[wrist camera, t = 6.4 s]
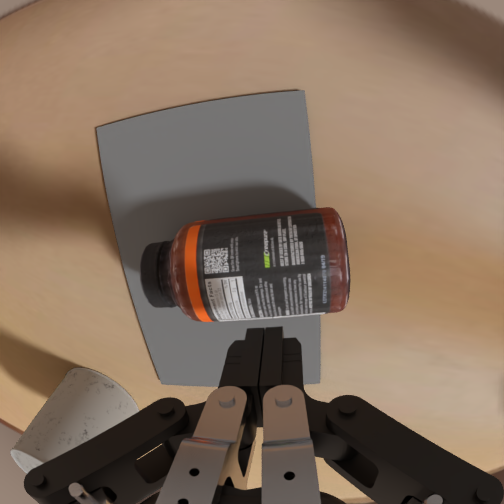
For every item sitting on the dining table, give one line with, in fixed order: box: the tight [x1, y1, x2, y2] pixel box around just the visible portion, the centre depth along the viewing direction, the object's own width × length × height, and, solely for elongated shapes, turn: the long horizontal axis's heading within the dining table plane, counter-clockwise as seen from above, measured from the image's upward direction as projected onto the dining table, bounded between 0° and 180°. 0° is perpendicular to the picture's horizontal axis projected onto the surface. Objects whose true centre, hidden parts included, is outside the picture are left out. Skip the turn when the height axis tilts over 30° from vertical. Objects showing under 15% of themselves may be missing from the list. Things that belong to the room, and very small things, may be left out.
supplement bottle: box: [140, 207, 350, 322], centre depth 18 cm, size 6×6×11 cm
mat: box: [96, 90, 320, 387], centre depth 22 cm, size 14×22×1 cm, turn 7°
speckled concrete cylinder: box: [10, 367, 139, 474], centre depth 23 cm, size 10×10×12 cm
